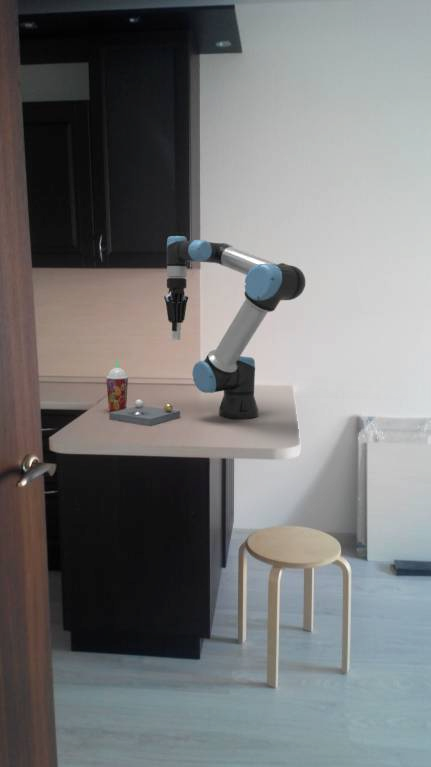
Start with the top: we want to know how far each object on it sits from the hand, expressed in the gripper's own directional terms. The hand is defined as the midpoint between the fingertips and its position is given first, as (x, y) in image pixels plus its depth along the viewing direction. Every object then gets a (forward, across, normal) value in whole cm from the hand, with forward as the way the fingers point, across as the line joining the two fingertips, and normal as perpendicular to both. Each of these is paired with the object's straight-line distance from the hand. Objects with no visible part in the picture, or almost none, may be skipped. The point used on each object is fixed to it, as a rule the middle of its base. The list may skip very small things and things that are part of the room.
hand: (176, 339), depth 228 cm
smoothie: (+29, +14, -18) cm, 37 cm away
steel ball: (+27, +22, -1) cm, 35 cm away
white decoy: (+24, +13, -8) cm, 29 cm away
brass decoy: (+24, +13, +6) cm, 28 cm away
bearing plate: (+28, +18, -1) cm, 34 cm away
